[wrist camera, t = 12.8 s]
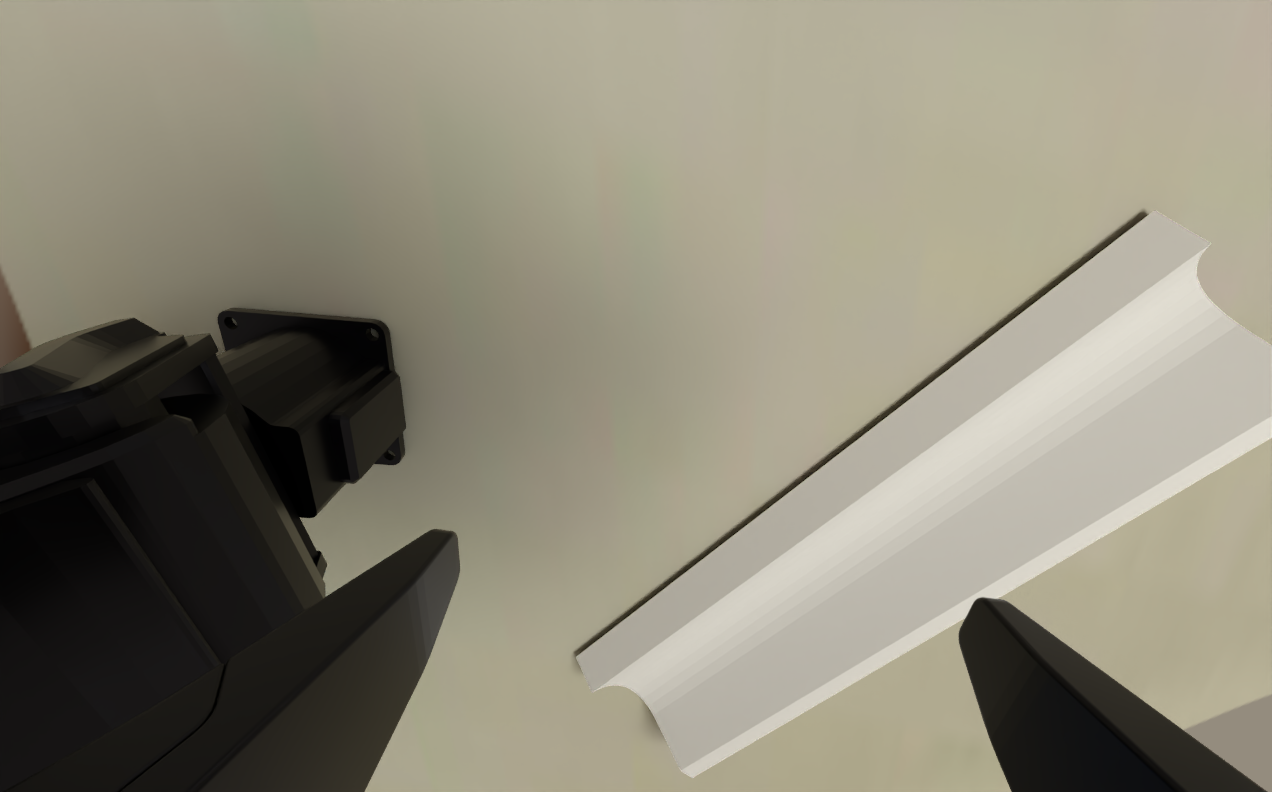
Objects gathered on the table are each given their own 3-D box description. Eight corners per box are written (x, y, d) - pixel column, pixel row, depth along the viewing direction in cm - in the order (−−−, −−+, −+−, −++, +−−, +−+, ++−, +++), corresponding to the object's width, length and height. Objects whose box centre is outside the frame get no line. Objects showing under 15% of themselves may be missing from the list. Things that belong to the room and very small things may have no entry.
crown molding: (1131, 210, 19) (1234, 221, 16) (1263, 411, 22) (1371, 456, 19) (580, 643, 29) (571, 706, 26) (726, 738, 32) (735, 805, 29)
